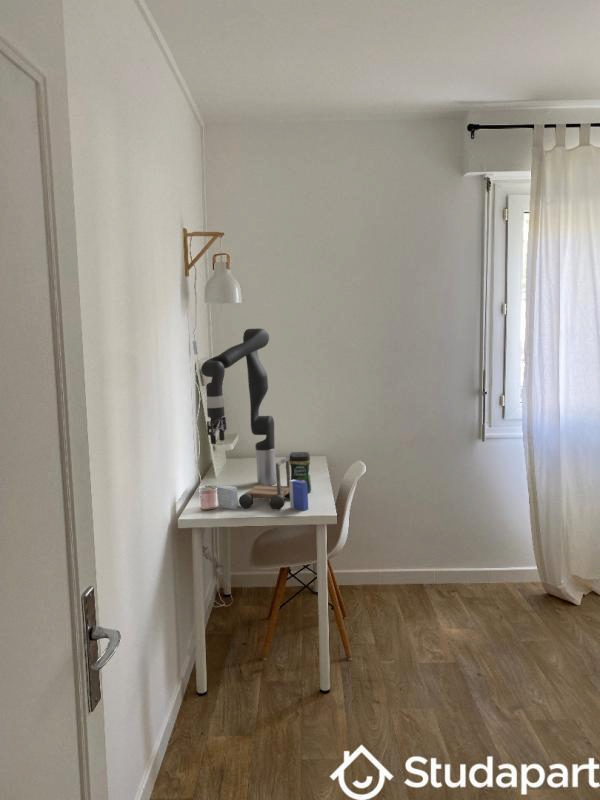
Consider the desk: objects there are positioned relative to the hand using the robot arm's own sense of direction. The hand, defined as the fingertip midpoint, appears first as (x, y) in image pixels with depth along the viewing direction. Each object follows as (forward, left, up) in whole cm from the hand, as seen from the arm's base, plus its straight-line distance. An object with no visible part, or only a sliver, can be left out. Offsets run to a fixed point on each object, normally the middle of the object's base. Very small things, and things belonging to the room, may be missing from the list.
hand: (217, 442), depth 290 cm
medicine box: (+11, +8, -26) cm, 30 cm away
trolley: (+3, +24, -26) cm, 36 cm away
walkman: (+9, +40, -26) cm, 48 cm away
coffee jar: (-17, +32, -26) cm, 45 cm away
